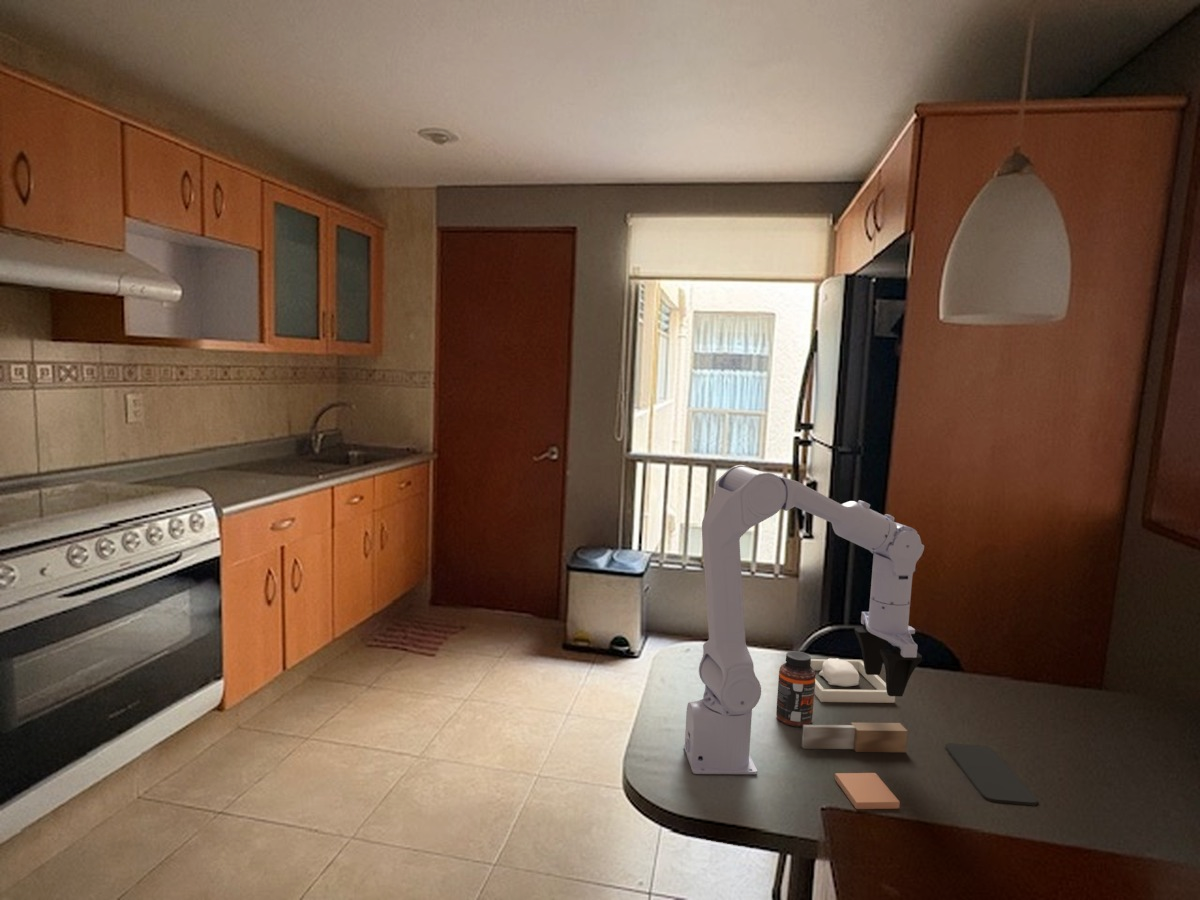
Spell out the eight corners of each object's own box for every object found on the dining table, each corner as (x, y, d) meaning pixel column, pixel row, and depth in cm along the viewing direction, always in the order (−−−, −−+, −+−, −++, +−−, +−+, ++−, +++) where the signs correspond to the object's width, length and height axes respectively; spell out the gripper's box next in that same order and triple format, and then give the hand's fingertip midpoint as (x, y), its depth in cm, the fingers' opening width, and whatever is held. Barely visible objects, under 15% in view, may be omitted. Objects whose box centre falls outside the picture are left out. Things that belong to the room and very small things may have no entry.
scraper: (805, 751, 107) (806, 729, 107) (799, 743, 110) (801, 722, 110) (905, 752, 108) (907, 730, 108) (898, 743, 111) (899, 723, 110)
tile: (834, 782, 100) (856, 811, 93) (835, 773, 100) (856, 802, 93) (874, 781, 101) (899, 811, 94) (875, 772, 101) (899, 801, 94)
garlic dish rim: (821, 701, 125) (821, 691, 125) (794, 668, 139) (794, 658, 139) (894, 702, 126) (895, 692, 125) (860, 669, 140) (861, 659, 140)
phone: (985, 798, 96) (942, 742, 111) (984, 804, 96) (942, 747, 111) (1041, 803, 95) (991, 746, 110) (1041, 809, 95) (990, 751, 110)
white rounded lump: (814, 671, 139) (815, 653, 138) (847, 672, 139) (848, 653, 139) (829, 689, 131) (830, 670, 130) (864, 689, 131) (865, 670, 131)
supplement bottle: (804, 732, 114) (809, 665, 112) (770, 720, 117) (774, 655, 116) (817, 718, 118) (821, 654, 117) (784, 708, 122) (788, 645, 121)
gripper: (940, 615, 100) (932, 706, 101) (893, 586, 114) (886, 665, 116) (892, 614, 100) (885, 705, 101) (851, 585, 114) (845, 665, 115)
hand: (883, 684), depth 108 cm, fingers open, 7 cm apart
